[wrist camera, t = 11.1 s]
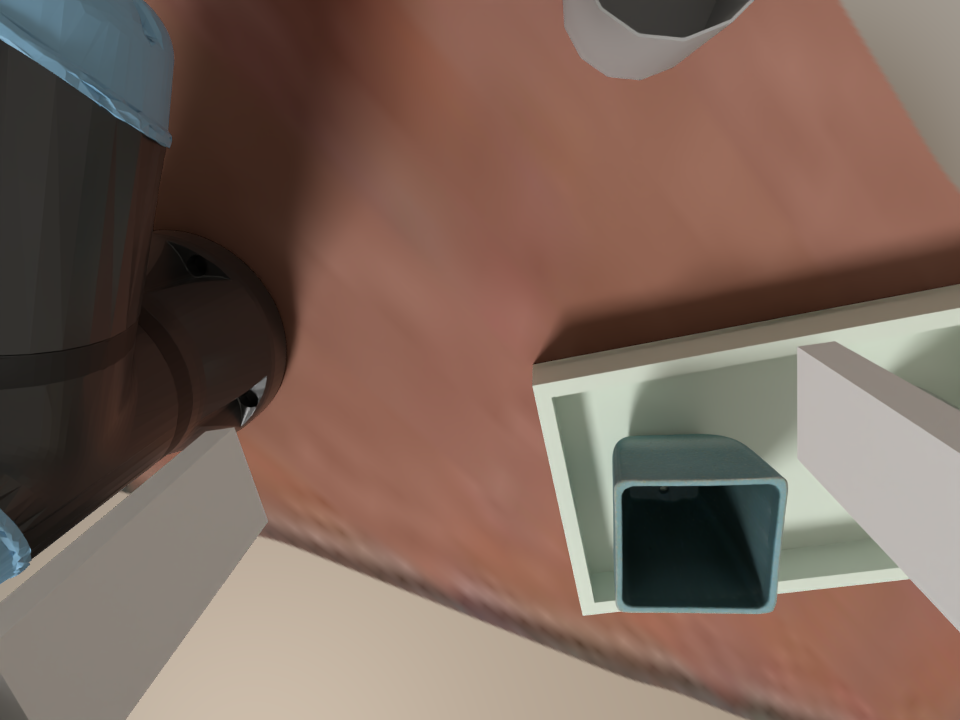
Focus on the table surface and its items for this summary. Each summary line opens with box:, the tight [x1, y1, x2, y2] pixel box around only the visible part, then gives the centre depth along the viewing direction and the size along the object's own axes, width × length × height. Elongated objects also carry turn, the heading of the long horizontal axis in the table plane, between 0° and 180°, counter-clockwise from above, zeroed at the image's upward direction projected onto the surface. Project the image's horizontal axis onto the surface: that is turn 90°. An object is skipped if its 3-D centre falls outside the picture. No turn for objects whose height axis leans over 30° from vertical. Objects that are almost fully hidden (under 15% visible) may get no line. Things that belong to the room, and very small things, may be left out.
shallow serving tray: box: [532, 284, 960, 616], centre depth 36 cm, size 28×18×4 cm, turn 103°
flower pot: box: [612, 434, 788, 614], centre depth 34 cm, size 9×9×9 cm
